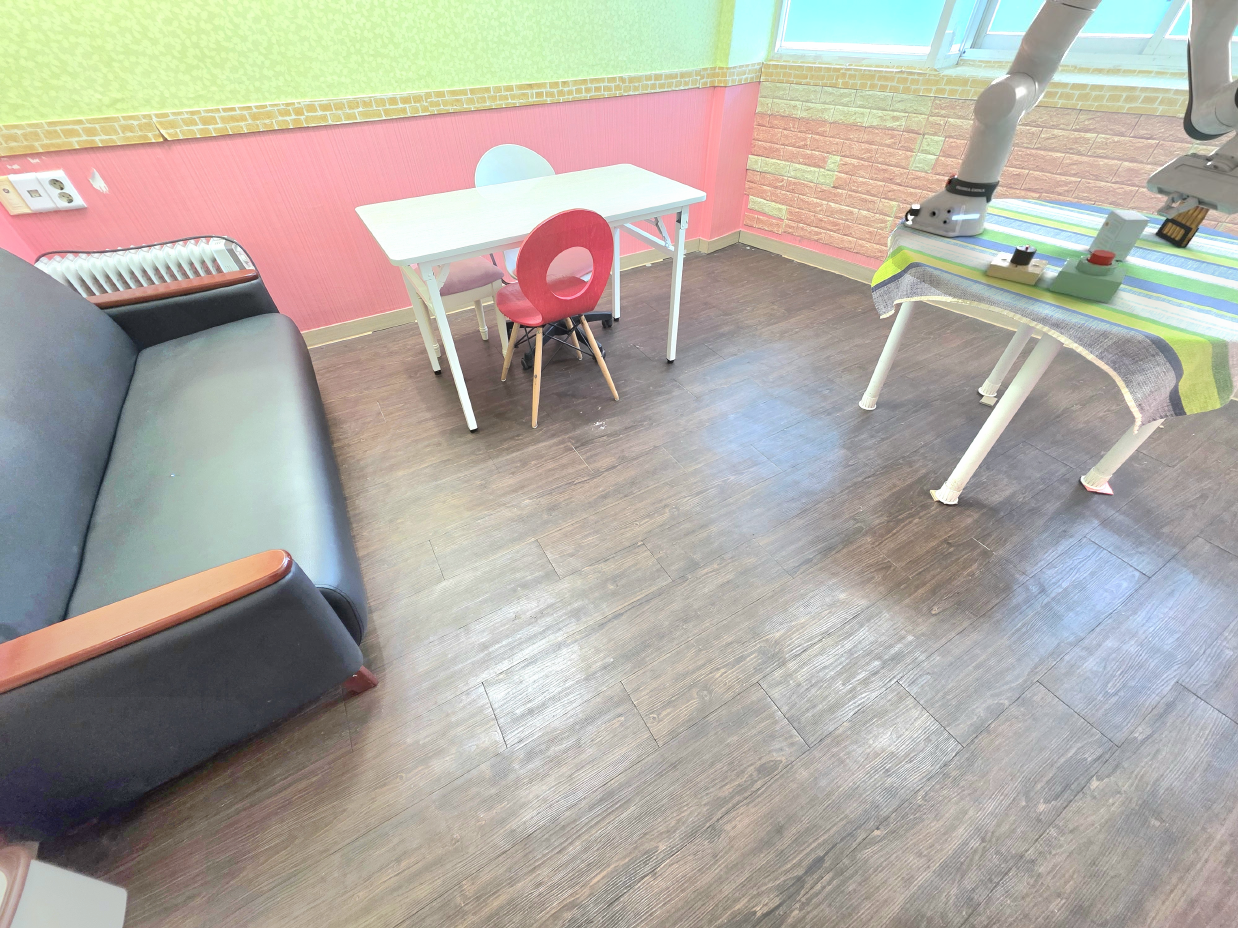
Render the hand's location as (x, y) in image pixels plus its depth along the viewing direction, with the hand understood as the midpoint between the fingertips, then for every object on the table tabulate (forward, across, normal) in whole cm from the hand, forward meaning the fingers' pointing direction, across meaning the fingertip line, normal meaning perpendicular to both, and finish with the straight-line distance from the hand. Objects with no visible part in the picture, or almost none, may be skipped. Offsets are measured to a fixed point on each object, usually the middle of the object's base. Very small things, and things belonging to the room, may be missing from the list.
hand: (1162, 215), depth 113 cm
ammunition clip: (-15, -20, +38) cm, 46 cm away
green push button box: (+19, 0, +5) cm, 19 cm away
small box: (+2, -16, +21) cm, 27 cm away
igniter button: (+14, 0, 0) cm, 14 cm away
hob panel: (+24, -12, -1) cm, 27 cm away
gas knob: (+22, -13, -3) cm, 26 cm away
